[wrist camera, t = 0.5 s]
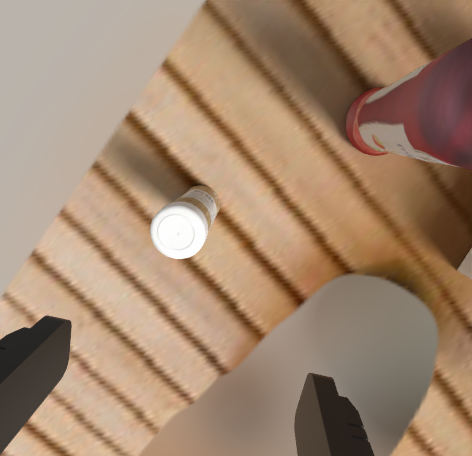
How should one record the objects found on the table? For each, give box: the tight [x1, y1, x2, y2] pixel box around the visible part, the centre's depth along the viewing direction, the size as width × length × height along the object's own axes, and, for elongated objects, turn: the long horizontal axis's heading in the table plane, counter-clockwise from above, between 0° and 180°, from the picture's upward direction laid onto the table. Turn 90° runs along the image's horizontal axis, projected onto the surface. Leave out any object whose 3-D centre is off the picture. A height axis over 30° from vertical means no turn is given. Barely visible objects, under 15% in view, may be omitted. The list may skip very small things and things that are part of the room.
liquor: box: [346, 39, 472, 170], centre depth 23 cm, size 7×7×28 cm
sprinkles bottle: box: [150, 186, 220, 259], centre depth 34 cm, size 5×5×13 cm
